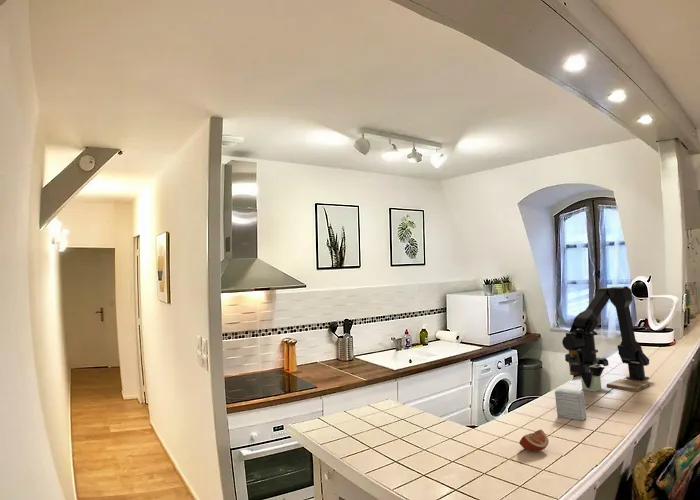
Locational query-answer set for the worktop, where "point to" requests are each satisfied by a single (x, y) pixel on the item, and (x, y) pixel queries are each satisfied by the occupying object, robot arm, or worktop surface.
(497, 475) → the worktop surface
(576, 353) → the condiment
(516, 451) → the worktop surface
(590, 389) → the sage cube
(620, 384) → the walnut board
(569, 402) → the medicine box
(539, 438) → the fruit slice
